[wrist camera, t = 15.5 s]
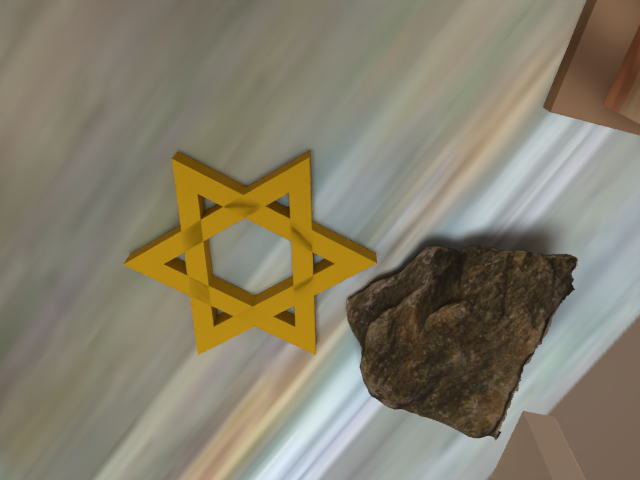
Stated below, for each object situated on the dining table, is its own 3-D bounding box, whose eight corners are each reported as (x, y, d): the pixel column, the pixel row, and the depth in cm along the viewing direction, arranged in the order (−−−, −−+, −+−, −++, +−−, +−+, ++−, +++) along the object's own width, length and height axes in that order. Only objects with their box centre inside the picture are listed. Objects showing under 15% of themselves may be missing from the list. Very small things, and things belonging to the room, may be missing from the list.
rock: (542, 231, 50) (381, 188, 46) (615, 269, 41) (420, 218, 37) (470, 412, 54) (317, 384, 50) (521, 483, 45) (338, 455, 41)
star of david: (205, 92, 42) (198, 98, 40) (408, 201, 45) (411, 212, 43) (111, 297, 50) (101, 311, 48) (290, 379, 53) (288, 395, 51)
